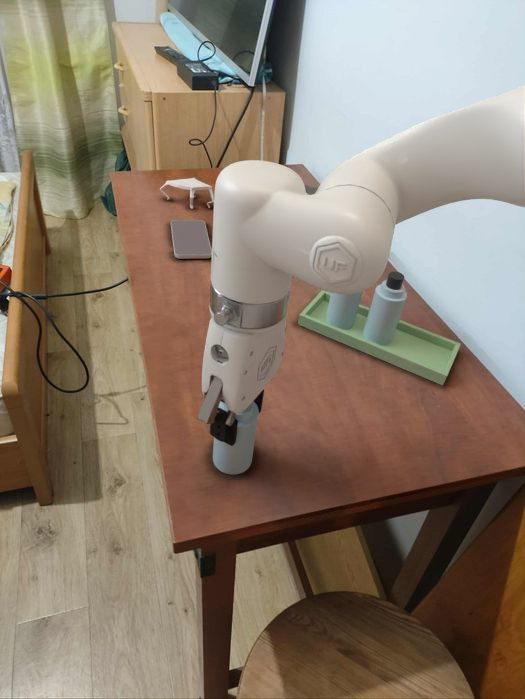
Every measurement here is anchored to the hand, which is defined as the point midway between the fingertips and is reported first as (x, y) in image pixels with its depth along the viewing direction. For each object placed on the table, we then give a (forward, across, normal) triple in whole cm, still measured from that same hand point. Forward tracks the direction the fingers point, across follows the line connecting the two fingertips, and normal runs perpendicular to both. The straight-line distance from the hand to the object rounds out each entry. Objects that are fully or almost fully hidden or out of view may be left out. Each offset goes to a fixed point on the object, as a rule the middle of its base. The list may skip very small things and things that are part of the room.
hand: (236, 422), depth 60 cm
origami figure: (+7, +56, +48) cm, 74 cm away
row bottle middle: (+6, +35, -7) cm, 36 cm away
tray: (+7, +35, -7) cm, 36 cm away
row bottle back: (+6, +35, 0) cm, 36 cm away
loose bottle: (+7, 0, 0) cm, 7 cm away
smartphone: (+7, +42, +37) cm, 56 cm away
